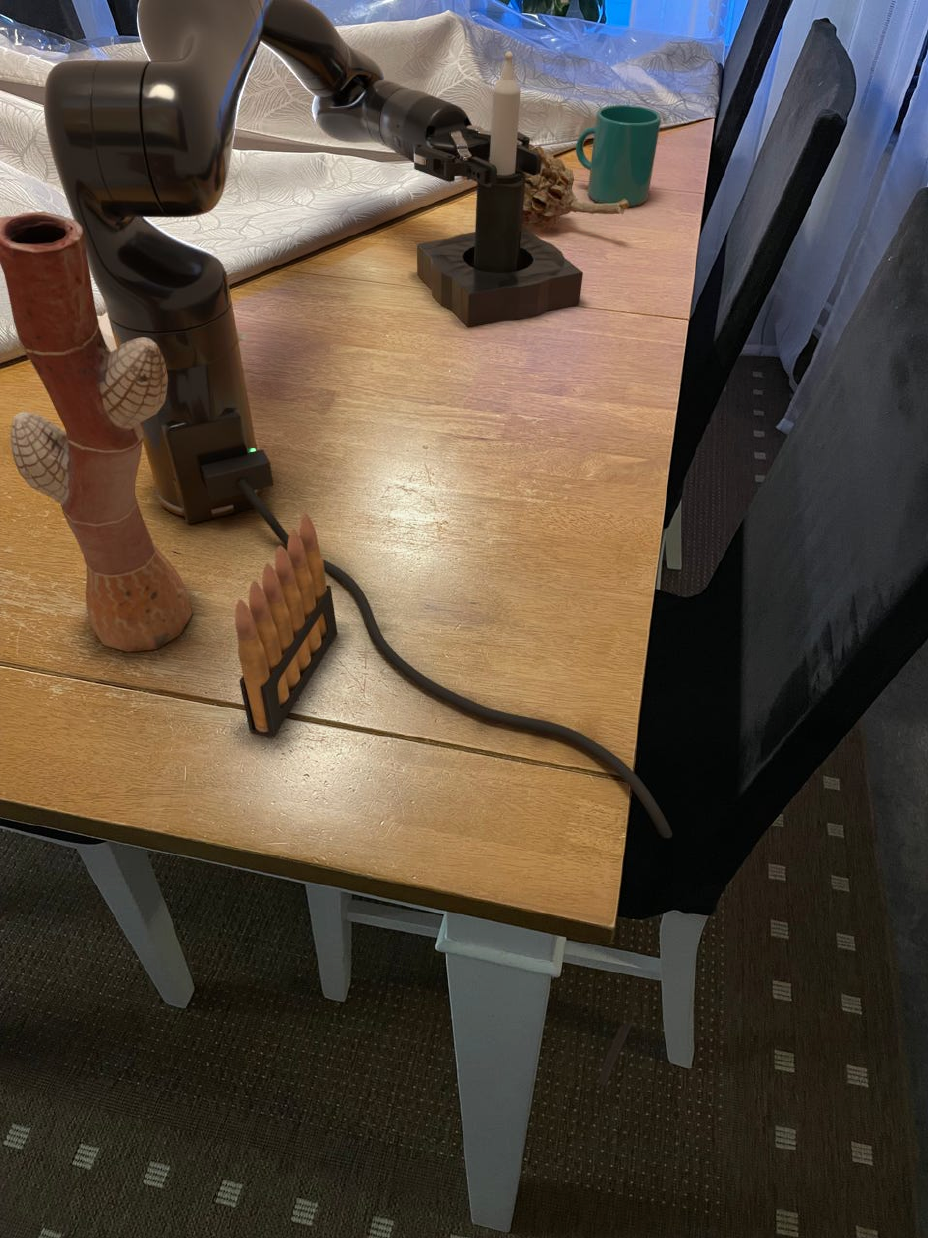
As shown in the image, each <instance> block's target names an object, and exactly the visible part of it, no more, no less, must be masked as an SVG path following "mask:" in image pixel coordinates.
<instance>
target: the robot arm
mask: <svg viewBox="0 0 928 1238" xmlns="http://www.w3.org/2000/svg"><path fill="white" fill-rule="evenodd" d="M136 15H137V16H136V23H137V24H136V25H137V30H138V35H139V39H140V42H141V45H142V48H143V51H144V53H145V55H146V57H147V58H148V60H120V59H119V60H118V59H116V60H115V59H69V60H62V61H61V62H58V63H57V64H55V65H54V66H53V67H51V69H50V71H49V72H48V75H47V78H46V80H45V84H44V89H43V91H44V92H43V114H44V123H45V129H46V134H47V139H48V143H49V147H50V152H51V155H52V159H53V164H54V165H55V169H56V171H57V175H58V178H59V182H60V185H61V187H62V190H63V193H64V195H65V199H66V201H67V205H68V207H69V210H70V213H71V216H72V220H75V221H76V222H77V223H78V224H80V225H81V226H82V227H83V231H84V235H85V243H86V252H87V260H88V265H89V270H90V275H91V277H92V279H93V282H94V284H95V286H96V288H97V290H98V292H99V293H100V296H101V297H102V301H103V304H104V307H105V312H106V311H107V314H108V318H109V322H110V325H111V329H112V332H113V336H114V339H115V343H116V347H117V348H118V347H119V346H120V345H122V344H124V343H125V342H128V341H130V340H133V339H137V338H142V337H145V338H149V339H151V340H152V341H154V342H155V343H156V344H157V346H158V347H159V349H160V351H161V353H162V355H163V358H164V360H165V365H166V370H167V376H168V384H167V393H166V399H165V403H164V404H163V406H162V407H161V408H160V410H159V411H158V412H157V414H155V415H153V416H151V417H150V418H148V419H146V420H144V421H142V422H143V434H144V436H143V444H142V445H143V447H144V450H145V454H146V457H147V462H148V464H149V468H150V471H151V475H152V479H153V482H154V491H155V493H156V497H157V500H158V502H159V504H160V505H161V506H162V507H163V508H164V509H166V510H167V511H169V512H170V513H172V514H175V515H177V516H180V517H184V519H185V520H186V523H187V524H189V525H191V524H195V523H198V522H199V523H200V522H203V521H207V520H211V519H214V518H215V519H216V518H220V517H223V516H227V515H231V514H234V513H238V512H239V513H240V512H242V511H246V510H250V509H254V508H255V510H256V512H258V514H259V515H260V516H261V518H263V520H264V521H265V523H266V525H268V527H269V528H270V530H272V532H273V534H275V536H276V537H277V538H278V539H279V540H280V541H281V542H282V543H283V544H284V545H285V546H286V548H288V538H289V533H287V531H286V530H285V529H284V528H283V526H282V525H281V524H280V522H279V521H278V519H277V518H276V516H274V514H273V513H272V511H271V509H269V508H268V506H267V505H266V503H265V502H264V501H263V500H262V499H261V497H260V494H261V492H262V490H263V489H265V488H269V487H270V488H271V487H274V479H273V473H272V472H273V471H272V466H271V462H270V460H269V458H268V456H267V454H266V453H265V451H264V449H263V448H262V449H258V445H257V440H256V435H255V428H254V424H253V418H252V413H251V412H252V411H251V407H250V399H249V395H248V389H247V388H248V387H247V384H246V378H245V371H244V366H243V359H242V354H241V353H242V352H241V348H240V342H238V336H237V332H238V330H237V324H236V318H235V312H234V307H233V306H234V305H233V300H232V295H231V290H230V284H229V277H228V275H227V271H226V268H225V266H224V264H223V263H222V261H220V259H219V258H218V257H217V256H215V254H213V253H211V252H210V251H208V250H207V249H204V248H202V247H200V246H198V245H195V244H193V243H190V242H186V241H185V240H182V239H180V238H177V237H175V236H173V235H172V234H170V233H168V232H166V231H165V230H163V229H162V228H160V227H158V226H157V225H156V224H154V223H153V222H152V221H151V220H149V218H175V219H176V218H191V217H197V216H201V215H205V214H207V213H210V212H211V211H212V210H214V209H215V208H216V206H217V205H218V204H219V202H220V200H221V199H222V197H223V194H224V191H225V189H226V185H227V181H228V177H229V171H230V166H231V160H232V154H233V147H234V141H235V132H236V127H237V121H238V112H239V108H240V103H241V100H242V96H243V93H244V90H245V87H246V84H247V80H248V77H249V75H250V72H251V70H252V67H253V66H254V63H255V60H256V57H257V54H258V51H259V48H260V44H262V45H263V46H265V47H266V48H268V50H270V51H271V52H272V53H273V54H275V55H276V56H277V57H278V59H279V60H281V61H282V62H283V64H285V66H286V67H287V69H288V70H289V71H290V72H291V73H292V74H293V75H294V76H295V77H296V79H297V80H298V81H299V82H300V84H301V85H302V86H303V87H304V88H305V89H306V90H307V91H308V92H309V93H310V94H312V95H313V96H314V98H313V101H312V106H311V111H312V116H313V119H314V122H315V123H316V125H317V127H318V128H319V129H320V131H322V132H323V133H324V134H326V135H327V136H329V137H330V138H332V139H334V140H337V141H338V142H344V143H351V144H362V143H372V144H373V143H375V144H376V143H377V144H379V145H381V146H383V147H385V148H387V149H389V150H391V151H393V152H394V153H395V154H397V155H398V156H400V157H401V158H403V159H405V160H407V161H409V162H412V163H413V169H414V170H415V171H418V172H420V173H423V174H426V175H429V176H430V177H431V176H432V177H433V178H437V179H440V180H442V181H445V182H448V183H451V182H455V180H456V177H459V179H460V180H462V181H470V180H471V181H473V182H476V183H477V182H478V183H480V184H482V185H484V186H486V187H488V188H491V187H494V186H496V181H497V168H496V166H495V165H493V164H491V163H490V146H491V130H488V129H483V128H482V127H481V126H477V125H473V124H472V122H471V120H470V118H469V116H468V114H467V113H466V111H465V110H464V109H463V108H462V107H460V106H459V105H457V104H454V103H452V102H449V101H447V100H444V99H441V98H440V97H437V96H435V95H432V94H429V93H427V92H425V91H423V90H417V89H411V88H408V87H406V86H404V85H400V84H399V83H396V82H394V81H391V80H387V79H385V77H384V73H383V70H382V69H381V67H380V66H379V64H378V63H377V62H376V61H375V60H374V59H372V58H371V57H370V56H368V55H367V54H365V53H364V52H361V51H360V50H358V49H355V48H353V47H351V46H350V45H349V44H348V43H346V41H345V40H344V39H343V37H342V36H341V35H340V33H339V32H338V30H337V29H336V27H335V25H334V24H333V22H332V21H331V20H330V18H328V17H327V16H326V14H325V13H324V12H323V11H322V10H320V9H319V8H318V7H317V6H315V5H314V4H312V3H311V2H309V1H307V0H138V4H137V13H136ZM530 142H531V138H530V137H529V136H527V135H525V134H524V133H521V132H520V131H518V135H517V150H516V164H515V166H516V167H519V168H520V169H521V170H522V171H524V172H526V173H528V174H531V175H533V176H535V175H538V174H540V172H541V162H542V157H541V155H540V154H539V153H537V152H534V151H532V150H529V144H531V143H530ZM322 559H323V563H324V571H325V573H327V574H329V575H331V576H333V577H334V578H335V579H336V580H338V581H339V582H341V583H342V584H343V585H344V586H345V587H346V588H347V589H348V591H349V592H350V593H351V594H352V595H353V597H354V599H355V601H356V603H357V605H358V607H359V609H360V612H361V615H362V617H363V621H364V624H365V626H366V629H367V631H368V633H369V635H370V638H371V639H372V641H373V643H374V644H375V646H376V648H377V649H378V650H379V652H380V653H381V654H382V655H383V656H384V657H385V658H386V660H388V662H390V664H391V665H393V667H395V668H396V670H398V671H399V672H400V673H402V674H403V675H404V676H405V677H406V678H408V679H409V680H410V681H412V683H414V684H416V685H417V686H418V687H420V688H421V689H423V690H425V691H427V692H429V693H430V694H432V695H433V696H435V697H437V698H439V699H441V700H443V701H445V702H447V703H448V704H451V705H453V706H454V707H456V708H458V709H461V710H463V711H465V712H467V713H469V714H471V715H474V716H476V717H479V718H481V719H484V720H487V721H491V722H494V723H498V724H500V725H501V724H502V725H505V726H509V727H516V728H518V729H519V728H520V729H525V730H529V731H535V732H539V733H543V734H547V735H550V736H554V737H557V738H560V739H564V740H565V741H567V742H570V743H572V744H574V745H576V746H578V747H580V748H582V749H583V750H585V751H586V752H588V753H590V754H591V755H593V756H594V757H596V758H597V759H599V760H600V761H602V762H603V763H604V764H606V765H607V766H608V767H609V768H610V769H612V771H614V772H615V773H616V774H618V775H619V776H620V777H621V778H622V779H623V780H624V782H625V783H626V784H627V785H628V786H629V787H630V789H631V790H632V791H633V792H634V794H635V795H636V796H637V798H638V799H639V801H640V802H641V804H642V805H643V807H644V809H645V810H646V812H647V814H648V815H649V817H650V819H651V821H652V823H653V824H654V826H655V828H656V830H657V833H658V834H659V836H661V837H662V838H664V839H671V838H672V837H673V831H672V830H671V827H670V825H669V823H668V821H667V819H666V817H665V816H664V814H663V811H662V810H661V808H660V807H659V805H658V803H657V802H656V800H655V798H654V797H653V795H652V794H651V791H649V789H648V788H647V786H646V785H645V784H644V783H643V781H642V780H641V779H640V777H638V775H637V774H636V773H635V772H634V771H633V770H632V769H631V768H630V767H629V765H627V764H626V763H625V762H624V761H622V760H621V759H620V758H619V757H618V756H617V755H615V754H614V753H612V752H611V751H610V750H609V749H607V748H605V747H604V746H603V745H601V744H599V743H598V742H596V741H595V740H593V739H591V738H590V737H588V736H586V735H584V734H582V733H581V732H578V731H577V730H574V729H571V728H570V727H566V726H564V725H561V724H558V723H555V722H552V721H547V720H543V719H538V718H534V717H529V716H523V715H518V714H514V713H509V712H506V711H505V712H504V711H501V710H497V709H493V708H491V707H488V706H485V705H482V704H480V703H477V702H475V701H474V700H473V701H472V700H470V699H469V698H467V697H464V696H462V695H460V694H458V693H456V692H454V691H453V690H450V689H448V688H447V687H444V686H442V685H441V684H438V683H437V682H435V681H434V680H431V679H430V678H428V677H427V676H425V675H424V674H422V673H421V672H420V671H418V670H416V668H414V667H413V666H412V665H410V664H409V663H408V662H407V661H406V660H404V659H403V657H402V656H400V655H399V654H398V653H397V652H396V651H395V650H394V649H393V648H392V647H391V645H390V644H389V643H388V642H387V640H386V639H385V637H384V636H383V635H382V633H381V630H380V628H379V626H378V623H377V620H376V618H375V615H374V612H373V610H372V607H371V604H370V602H369V601H368V598H367V596H366V594H365V592H364V591H363V590H362V588H361V587H360V586H359V584H358V583H357V582H356V581H355V580H354V579H353V578H352V577H351V576H350V575H349V574H348V573H347V572H345V571H344V570H343V569H341V568H340V567H339V566H336V565H335V564H333V563H332V562H329V561H327V560H326V559H324V558H322ZM634 1022H635V1018H634V1019H631V1020H630V1021H627V1022H626V1023H624V1024H622V1025H620V1026H619V1028H618V1031H617V1032H616V1034H615V1037H614V1040H613V1041H612V1043H611V1046H610V1048H609V1050H608V1053H607V1056H606V1058H605V1061H604V1063H603V1066H602V1068H601V1071H600V1074H599V1077H598V1080H597V1082H598V1084H599V1086H603V1087H605V1086H606V1084H607V1083H608V1079H609V1076H610V1074H611V1072H612V1069H613V1067H614V1065H615V1062H616V1059H617V1057H618V1055H619V1053H620V1051H621V1049H622V1046H623V1044H624V1042H625V1040H626V1038H627V1036H628V1034H629V1032H630V1030H631V1027H632V1026H633V1023H634Z"/></svg>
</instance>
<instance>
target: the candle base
mask: <svg viewBox="0 0 928 1238" xmlns="http://www.w3.org/2000/svg"><path fill="white" fill-rule="evenodd" d="M474 250H475V231H473V232H466V233H461V234H457V235H455V236H451V237H448V238H443V239H436V240H430V241H425V242H418V243H416V276H417V277H418V278H419V279H420V280H421V281H422V282H423V283H424V284H425V285H426V286H427V287H428V288H429V289H430V290H431V294H432V297H433V298H434V300H436V301H437V302H438V304H439V305H441V306H443V307H444V308H446V309H448V310H449V311H451V312H452V313H453V314H454V315H455V316H456V317H457V318H458V319H459V320H461V322H462V323H463V324H464V325H465V326H466V327H467V328H470V327H474V326H479V325H480V326H481V325H484V324H485V325H486V324H490V323H494V322H499V321H500V322H501V321H514V320H515V321H518V320H522V319H528V318H533V317H537V316H539V315H541V314H544V313H546V312H549V311H554V310H559V309H563V308H569V307H573V306H574V307H575V306H578V305H580V300H581V292H582V285H583V275H584V272H583V271H582V270H580V269H579V268H578V267H577V266H575V264H573V263H572V262H571V261H569V260H568V259H567V258H566V257H565V256H564V254H563V252H562V251H561V250H560V248H558V247H556V246H555V245H554V244H552V243H550V242H548V241H546V240H543V239H542V238H540V237H539V236H537V235H536V234H535V233H533V231H532V230H530V229H529V228H527V227H526V226H524V225H522V230H521V243H520V256H519V269H518V271H516V272H511V273H492V272H484V271H481V270H477V269H475V268H474Z"/></svg>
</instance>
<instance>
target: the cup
mask: <svg viewBox="0 0 928 1238" xmlns="http://www.w3.org/2000/svg"><path fill="white" fill-rule="evenodd" d="M661 122H662V116H661V114H660V113H659V112H658V111H656V110H654V109H652V108H648V107H645V106H639V105H630V104H615V105H608V106H604V107H601V108H599V109H598V110H597V111H596V117H595V125H592V126H590V127H587V128H586V129H584V130H583V131H582V132H581V133H580V134H579V136H578V138H577V140H576V145H575V152H576V157H577V159H578V162H579V163H580V164H581V166H582V167H584V168H585V169H586V170H588V171H589V178H588V186H587V194H588V196H589V197H590V199H591V200H592V201H594V202H595V203H597V204H612V203H617V202H620V201H622V200H623V199H625V200H628V208H631V207H635V206H639V205H641V204H643V203H645V202H646V201H647V200H648V198H649V196H650V195H649V194H650V189H651V183H652V177H653V172H654V171H653V170H654V166H655V165H654V164H655V157H656V153H657V145H658V139H659V134H660V129H661V128H660V127H661ZM590 135H593V142H592V151H591V159H588V158H587V157H586V155H585V151H584V143H585V141H586V139H587V138H588V137H589V136H590Z"/></svg>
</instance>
